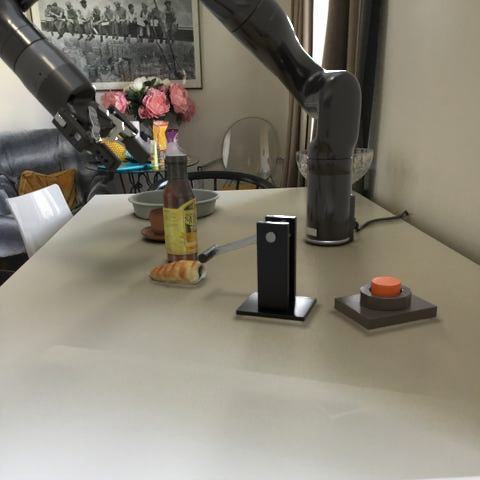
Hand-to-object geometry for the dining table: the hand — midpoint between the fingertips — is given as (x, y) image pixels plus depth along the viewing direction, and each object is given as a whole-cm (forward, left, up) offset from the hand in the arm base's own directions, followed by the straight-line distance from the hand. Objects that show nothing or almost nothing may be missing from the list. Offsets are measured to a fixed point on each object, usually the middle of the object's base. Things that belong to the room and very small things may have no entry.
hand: (132, 164), depth 83 cm
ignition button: (-29, +23, -17) cm, 41 cm away
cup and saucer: (-13, -37, -21) cm, 45 cm away
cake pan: (-22, -64, -21) cm, 71 cm away
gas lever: (-13, +12, -12) cm, 21 cm away
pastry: (-7, -5, -21) cm, 23 cm away
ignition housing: (-29, +23, -21) cm, 43 cm away
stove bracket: (-16, +15, -21) cm, 30 cm away
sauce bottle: (-11, -18, -21) cm, 30 cm away
